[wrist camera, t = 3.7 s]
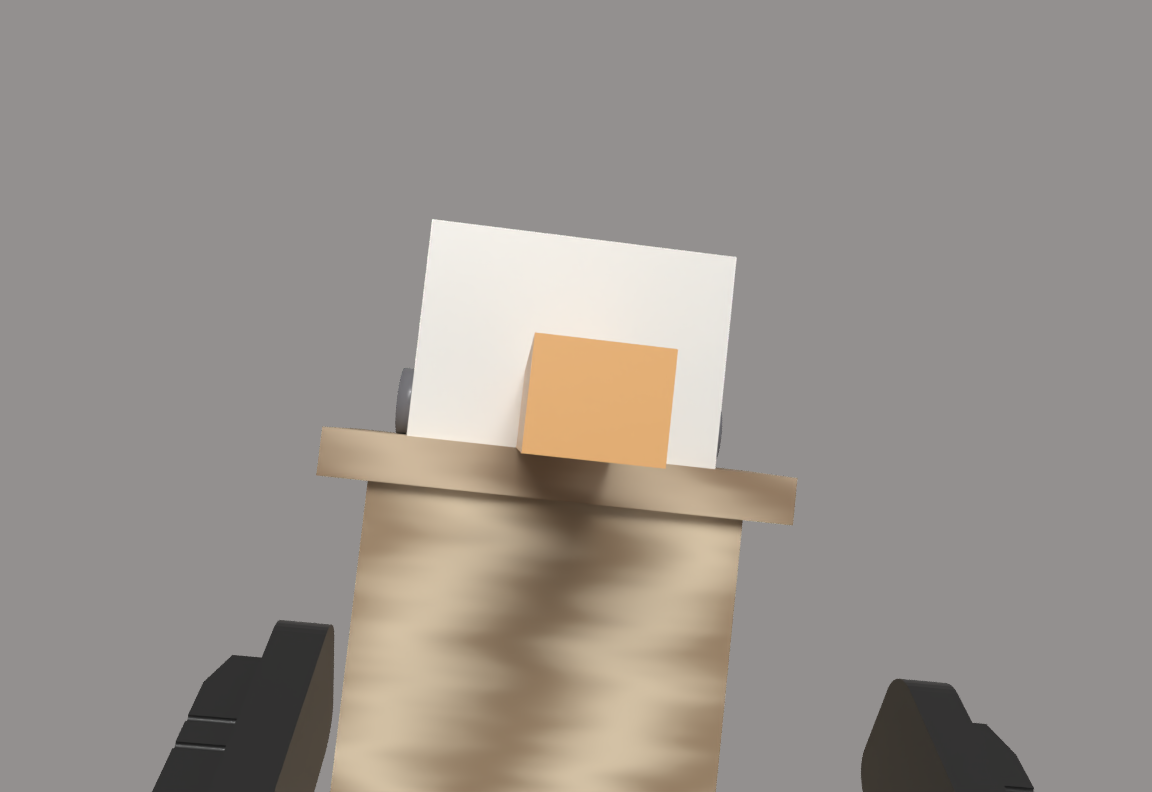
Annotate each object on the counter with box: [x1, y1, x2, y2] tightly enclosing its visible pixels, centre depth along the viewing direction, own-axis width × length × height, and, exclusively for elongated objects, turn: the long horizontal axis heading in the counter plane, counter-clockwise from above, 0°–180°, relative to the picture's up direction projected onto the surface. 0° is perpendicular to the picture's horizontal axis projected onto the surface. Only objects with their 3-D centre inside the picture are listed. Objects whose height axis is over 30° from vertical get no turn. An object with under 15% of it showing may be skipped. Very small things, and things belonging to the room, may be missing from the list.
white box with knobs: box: [395, 219, 736, 469], centre depth 27 cm, size 12×16×7 cm
